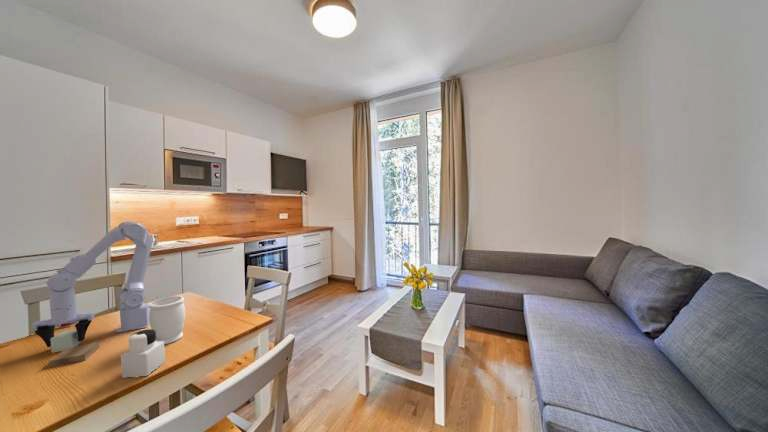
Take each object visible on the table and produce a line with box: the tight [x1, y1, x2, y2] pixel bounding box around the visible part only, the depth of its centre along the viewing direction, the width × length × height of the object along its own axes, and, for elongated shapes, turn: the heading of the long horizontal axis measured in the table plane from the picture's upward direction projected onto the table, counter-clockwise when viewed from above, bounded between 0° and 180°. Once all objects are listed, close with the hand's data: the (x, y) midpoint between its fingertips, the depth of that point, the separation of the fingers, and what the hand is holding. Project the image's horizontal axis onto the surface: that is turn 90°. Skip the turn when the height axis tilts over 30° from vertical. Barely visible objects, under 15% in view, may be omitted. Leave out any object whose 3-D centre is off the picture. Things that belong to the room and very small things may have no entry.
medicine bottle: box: [120, 328, 166, 379], centre depth 78 cm, size 7×7×12 cm
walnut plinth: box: [48, 342, 100, 368], centre depth 85 cm, size 8×8×2 cm
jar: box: [148, 295, 186, 345], centre depth 96 cm, size 11×10×15 cm
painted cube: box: [50, 329, 81, 353], centre depth 91 cm, size 5×5×5 cm
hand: (66, 343), depth 91 cm, fingers open, 7 cm apart
